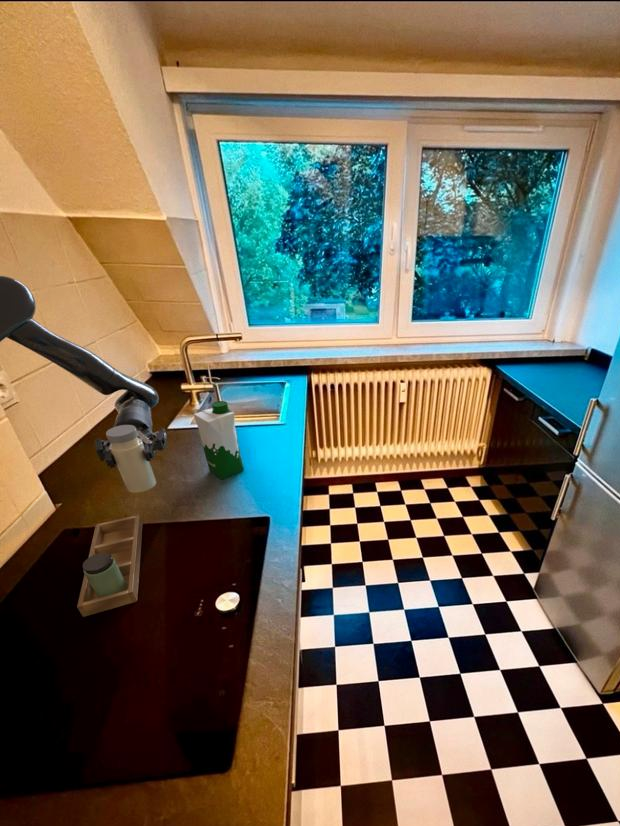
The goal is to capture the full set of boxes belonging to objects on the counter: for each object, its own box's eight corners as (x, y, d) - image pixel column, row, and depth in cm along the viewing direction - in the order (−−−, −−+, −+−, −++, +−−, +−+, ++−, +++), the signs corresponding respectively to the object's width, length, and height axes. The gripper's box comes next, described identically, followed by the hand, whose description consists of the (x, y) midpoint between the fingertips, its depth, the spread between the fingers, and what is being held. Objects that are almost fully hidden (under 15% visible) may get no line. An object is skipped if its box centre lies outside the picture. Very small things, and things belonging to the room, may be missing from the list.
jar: (134, 496, 79) (111, 440, 72) (121, 486, 82) (98, 431, 75) (161, 484, 83) (142, 429, 76) (148, 474, 86) (129, 421, 79)
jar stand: (84, 618, 70) (76, 607, 68) (101, 535, 89) (95, 524, 87) (138, 603, 72) (132, 591, 71) (143, 525, 92) (139, 514, 90)
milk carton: (248, 470, 113) (236, 405, 102) (220, 482, 107) (204, 415, 96) (232, 459, 118) (219, 397, 107) (204, 471, 112) (187, 406, 101)
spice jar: (104, 606, 71) (87, 575, 67) (93, 592, 74) (76, 562, 70) (132, 589, 74) (117, 559, 70) (120, 577, 77) (106, 547, 73)
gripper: (92, 416, 85) (80, 451, 72) (163, 406, 90) (163, 437, 77) (104, 446, 89) (95, 484, 76) (171, 435, 94) (173, 468, 81)
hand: (129, 460), depth 77 cm, fingers closed on jar, 6 cm apart
